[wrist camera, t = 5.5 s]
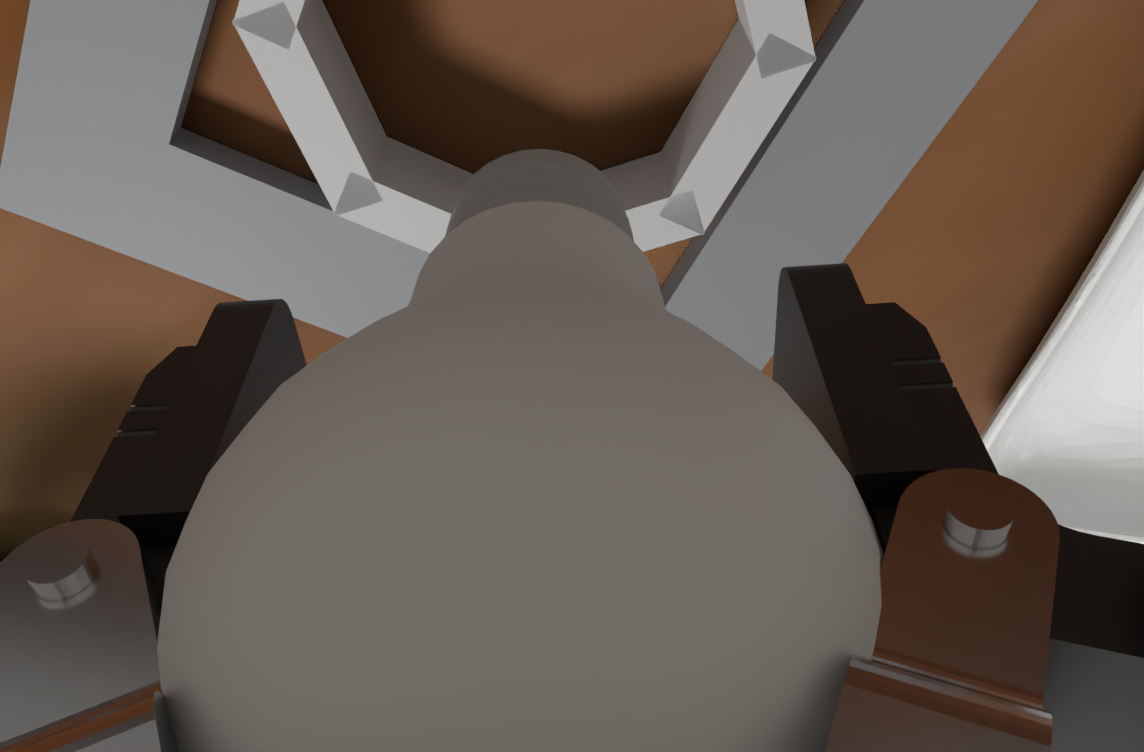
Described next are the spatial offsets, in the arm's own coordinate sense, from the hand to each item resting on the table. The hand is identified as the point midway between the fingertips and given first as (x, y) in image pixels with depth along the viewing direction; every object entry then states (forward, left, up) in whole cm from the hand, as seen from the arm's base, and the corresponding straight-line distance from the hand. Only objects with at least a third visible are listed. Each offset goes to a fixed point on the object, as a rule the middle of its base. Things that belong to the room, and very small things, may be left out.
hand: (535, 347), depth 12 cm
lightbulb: (0, 0, -4) cm, 4 cm away
